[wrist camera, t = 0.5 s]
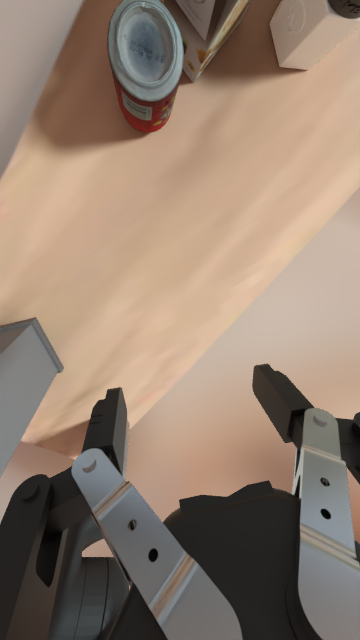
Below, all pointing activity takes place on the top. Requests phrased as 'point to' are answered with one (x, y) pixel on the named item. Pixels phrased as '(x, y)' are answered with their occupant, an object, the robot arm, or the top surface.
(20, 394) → the stand
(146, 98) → the soda can
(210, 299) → the top surface
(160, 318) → the top surface
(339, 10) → the jar
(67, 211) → the top surface
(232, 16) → the coffee box
